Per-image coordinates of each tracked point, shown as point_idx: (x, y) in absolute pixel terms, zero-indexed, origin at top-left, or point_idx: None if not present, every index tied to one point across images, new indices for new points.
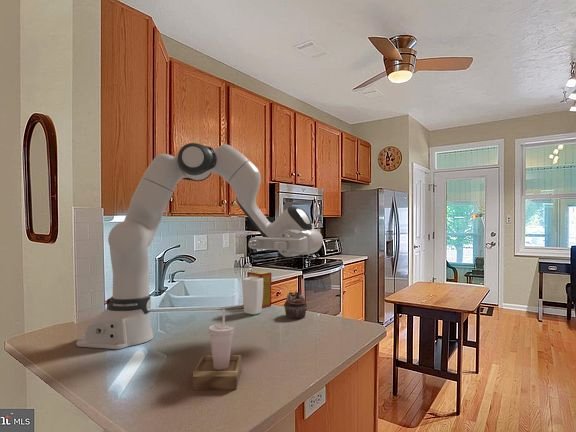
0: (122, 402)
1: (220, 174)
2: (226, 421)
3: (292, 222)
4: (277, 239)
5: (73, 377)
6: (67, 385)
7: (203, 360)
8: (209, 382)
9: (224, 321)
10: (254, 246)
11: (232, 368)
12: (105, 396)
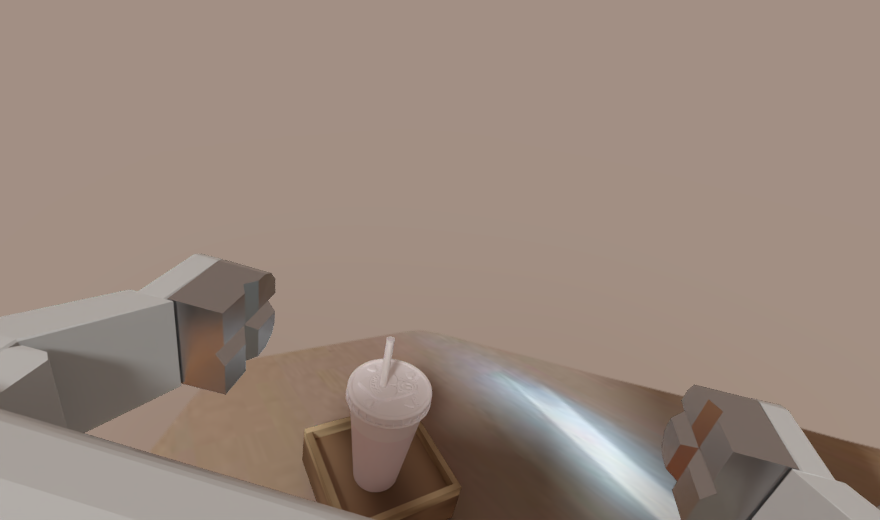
0: (482, 367)
1: None
2: (274, 366)
3: None
4: (198, 468)
5: (650, 402)
6: (619, 381)
7: (447, 483)
8: None
9: (382, 369)
10: (680, 492)
11: (336, 471)
12: (525, 372)
